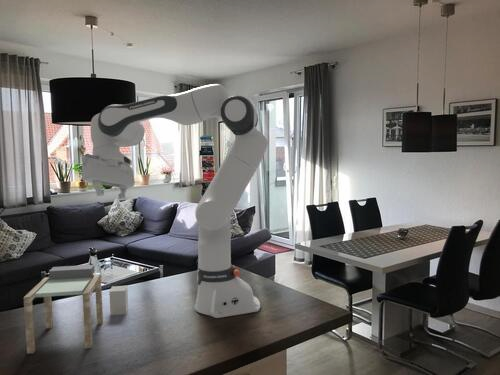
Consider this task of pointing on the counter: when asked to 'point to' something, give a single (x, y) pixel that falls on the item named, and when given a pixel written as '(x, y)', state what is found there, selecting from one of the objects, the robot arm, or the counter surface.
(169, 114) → the robot arm
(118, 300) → the stone
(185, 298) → the counter surface
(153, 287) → the counter surface
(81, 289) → the trapdoor
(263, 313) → the counter surface
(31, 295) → the frame
